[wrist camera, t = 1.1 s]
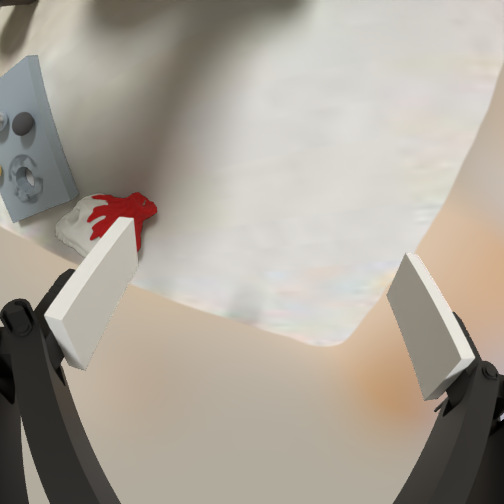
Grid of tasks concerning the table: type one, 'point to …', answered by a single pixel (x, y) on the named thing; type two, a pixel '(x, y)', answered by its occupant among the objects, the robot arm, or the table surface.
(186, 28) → the table surface
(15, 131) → the black ball
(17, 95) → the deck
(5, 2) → the coffee cup
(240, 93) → the table surface
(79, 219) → the candle
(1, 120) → the steel ball
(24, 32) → the table surface
